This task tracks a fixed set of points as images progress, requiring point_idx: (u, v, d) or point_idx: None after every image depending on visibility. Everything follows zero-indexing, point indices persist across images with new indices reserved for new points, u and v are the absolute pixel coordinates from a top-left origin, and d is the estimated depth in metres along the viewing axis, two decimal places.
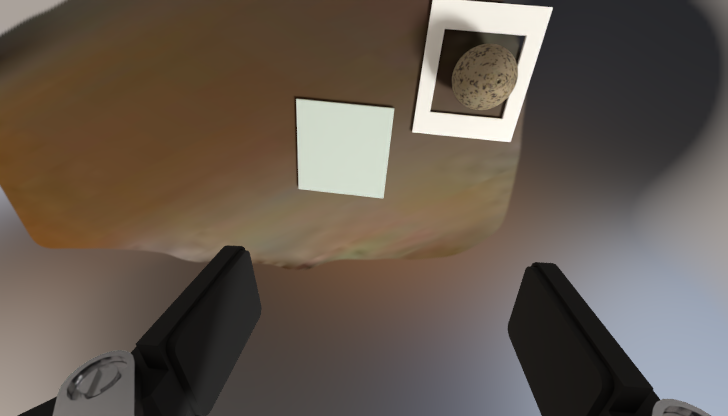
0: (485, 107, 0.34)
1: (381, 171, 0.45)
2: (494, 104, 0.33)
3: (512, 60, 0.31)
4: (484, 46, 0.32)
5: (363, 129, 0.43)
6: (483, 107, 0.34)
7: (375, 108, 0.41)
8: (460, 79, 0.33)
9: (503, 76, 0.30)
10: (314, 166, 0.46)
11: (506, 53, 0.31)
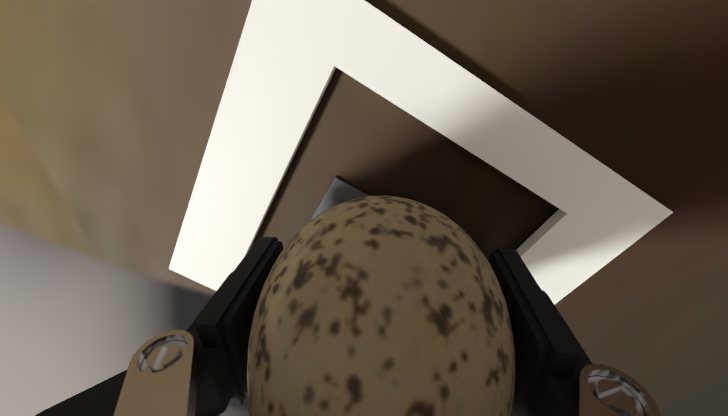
0: (250, 362, 0.06)
1: None
2: (249, 410, 0.06)
3: None
4: None
5: None
6: (253, 356, 0.06)
7: None
8: (446, 310, 0.06)
9: None
10: None
11: None
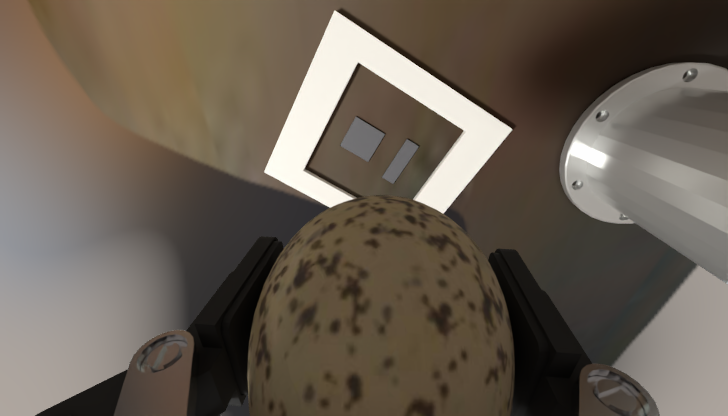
0: (251, 361, 0.06)
1: None
2: (249, 409, 0.06)
3: None
4: None
5: None
6: (253, 355, 0.06)
7: None
8: (446, 309, 0.06)
9: None
10: None
11: None
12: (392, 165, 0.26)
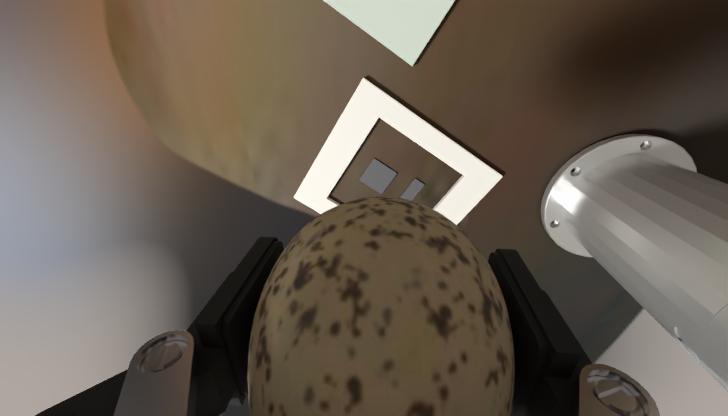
0: (251, 363, 0.06)
1: None
2: (250, 411, 0.06)
3: None
4: None
5: None
6: (254, 357, 0.06)
7: (430, 33, 0.23)
8: (446, 311, 0.06)
9: None
10: None
11: None
12: (402, 198, 0.31)
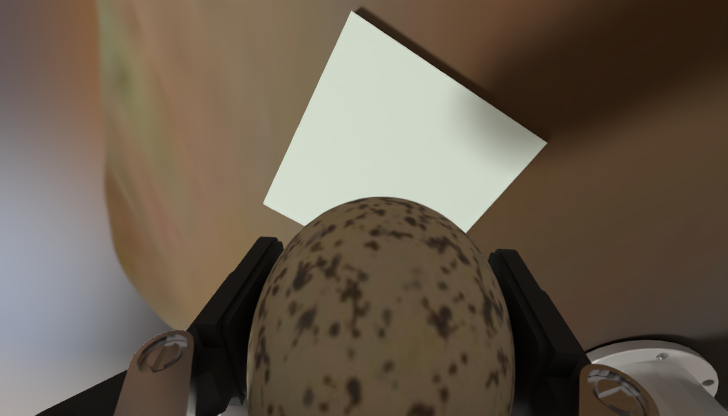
0: (250, 364, 0.06)
1: None
2: (249, 412, 0.06)
3: None
4: None
5: None
6: (253, 358, 0.06)
7: None
8: (446, 312, 0.06)
9: None
10: (390, 96, 0.18)
11: None
12: None
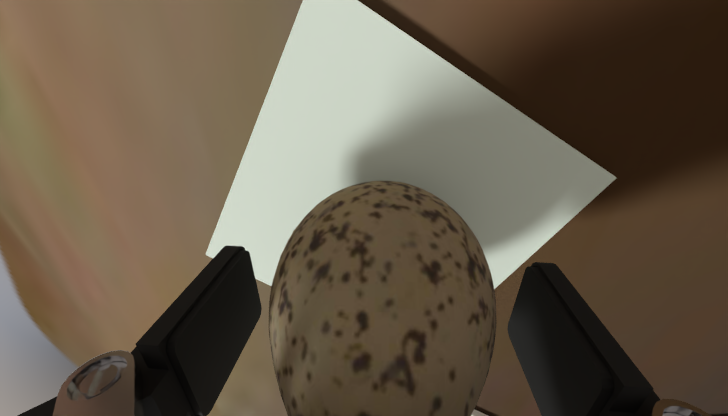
0: (273, 314, 0.08)
1: None
2: (272, 354, 0.08)
3: None
4: None
5: None
6: (276, 308, 0.07)
7: None
8: (436, 265, 0.07)
9: None
10: (379, 108, 0.12)
11: None
12: None
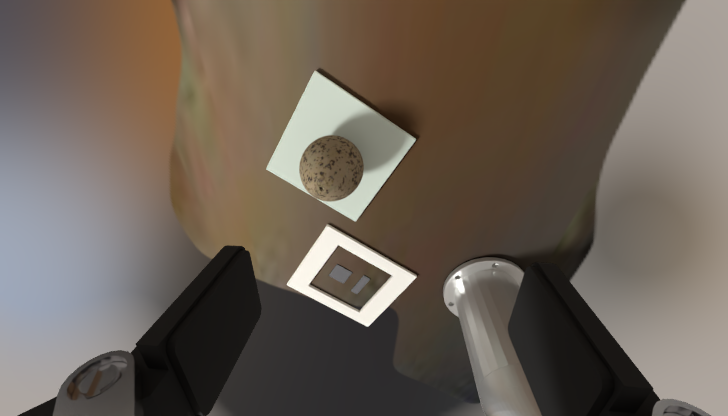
0: (301, 164, 0.31)
1: (298, 182, 0.39)
2: (301, 174, 0.31)
3: (335, 200, 0.32)
4: (359, 180, 0.32)
5: None
6: (302, 162, 0.30)
7: (364, 207, 0.40)
8: (340, 150, 0.30)
9: (324, 193, 0.29)
10: (335, 112, 0.35)
11: (344, 197, 0.32)
12: (356, 285, 0.48)
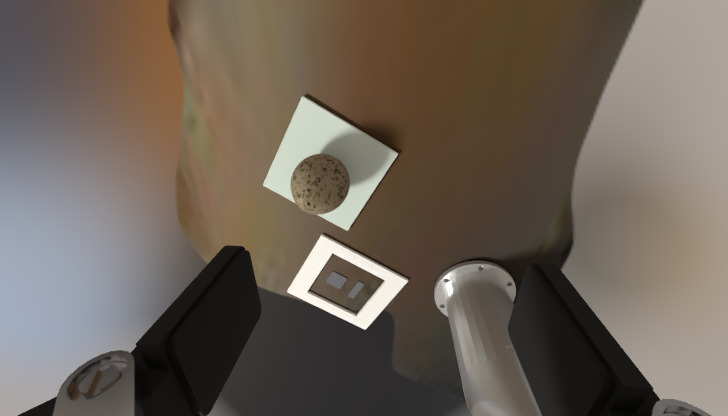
0: (292, 181, 0.34)
1: None
2: (291, 190, 0.34)
3: (324, 213, 0.35)
4: (345, 194, 0.35)
5: None
6: (292, 180, 0.34)
7: (354, 217, 0.43)
8: (325, 168, 0.33)
9: (311, 208, 0.32)
10: (322, 132, 0.38)
11: (331, 210, 0.35)
12: (352, 291, 0.50)
